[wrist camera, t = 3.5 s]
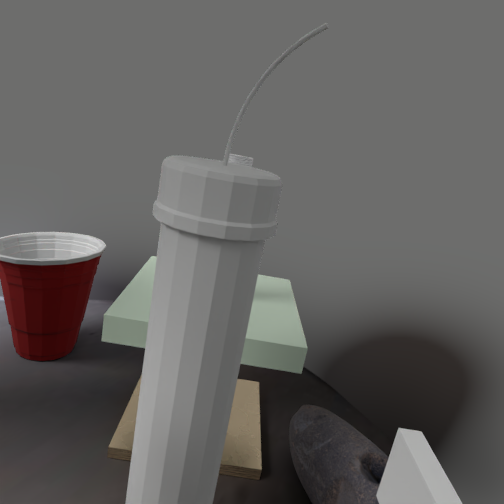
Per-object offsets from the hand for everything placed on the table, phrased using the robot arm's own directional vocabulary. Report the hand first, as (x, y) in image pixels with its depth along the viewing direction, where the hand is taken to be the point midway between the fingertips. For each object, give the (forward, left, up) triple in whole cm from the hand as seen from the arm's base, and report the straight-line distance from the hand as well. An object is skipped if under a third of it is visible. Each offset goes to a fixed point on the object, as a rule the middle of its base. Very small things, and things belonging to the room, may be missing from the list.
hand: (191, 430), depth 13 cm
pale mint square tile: (-11, +18, -6) cm, 22 cm away
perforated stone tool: (+3, +17, -17) cm, 24 cm away
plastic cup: (-30, +16, -17) cm, 38 cm away
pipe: (-4, +6, -17) cm, 18 cm away
